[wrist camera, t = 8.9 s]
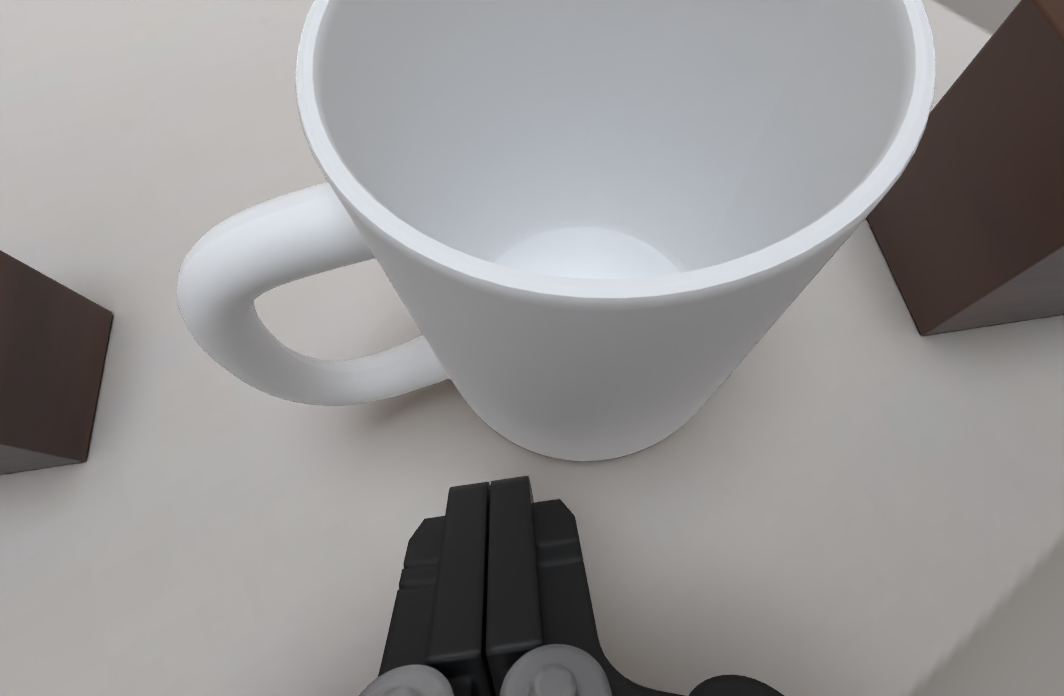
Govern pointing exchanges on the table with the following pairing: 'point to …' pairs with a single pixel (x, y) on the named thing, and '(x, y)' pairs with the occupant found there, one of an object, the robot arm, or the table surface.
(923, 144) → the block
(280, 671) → the table surface
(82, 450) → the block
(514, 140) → the cup
